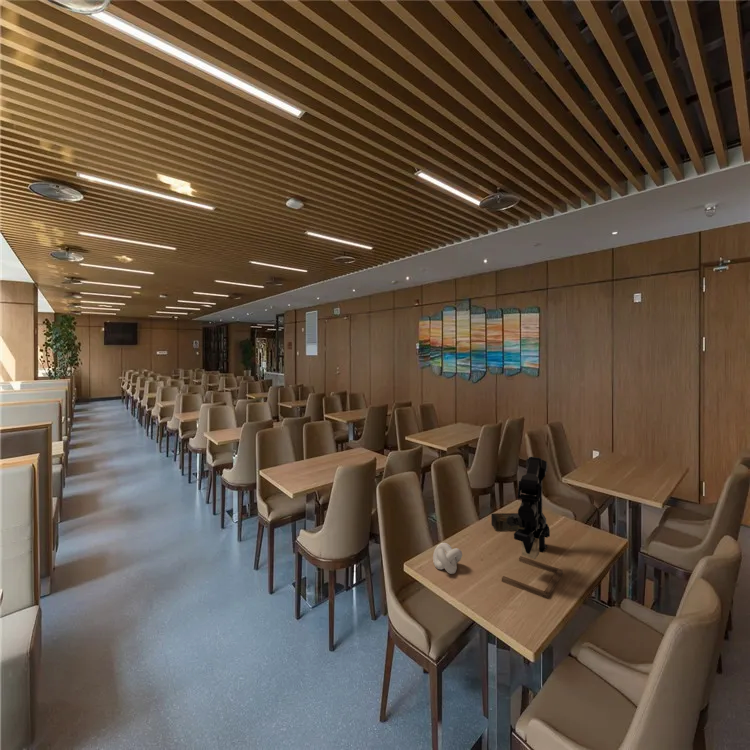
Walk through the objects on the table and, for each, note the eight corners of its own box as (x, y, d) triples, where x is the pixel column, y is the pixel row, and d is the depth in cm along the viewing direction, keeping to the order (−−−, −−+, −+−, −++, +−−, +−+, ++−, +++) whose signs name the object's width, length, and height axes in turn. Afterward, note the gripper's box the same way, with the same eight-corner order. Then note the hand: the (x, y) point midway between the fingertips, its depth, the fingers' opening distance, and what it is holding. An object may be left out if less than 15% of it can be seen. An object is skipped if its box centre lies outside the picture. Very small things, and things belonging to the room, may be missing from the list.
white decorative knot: (425, 568, 151) (425, 547, 151) (442, 557, 159) (442, 536, 159) (449, 579, 143) (448, 557, 143) (465, 567, 151) (465, 545, 151)
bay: (520, 559, 156) (520, 556, 156) (562, 573, 145) (562, 569, 145) (501, 581, 141) (501, 577, 141) (547, 598, 130) (547, 594, 130)
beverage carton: (534, 531, 182) (534, 518, 182) (495, 532, 182) (495, 519, 182) (527, 524, 190) (527, 511, 190) (490, 525, 190) (490, 512, 189)
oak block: (526, 549, 147) (525, 535, 146) (539, 553, 143) (539, 538, 143) (521, 555, 143) (521, 539, 143) (534, 559, 140) (534, 543, 139)
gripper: (517, 499, 155) (518, 535, 155) (500, 513, 141) (500, 553, 141) (545, 505, 148) (546, 543, 148) (529, 521, 133) (530, 563, 134)
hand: (530, 550), depth 143 cm, fingers closed on oak block, 5 cm apart
